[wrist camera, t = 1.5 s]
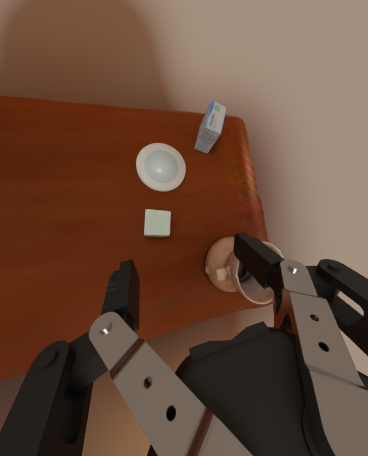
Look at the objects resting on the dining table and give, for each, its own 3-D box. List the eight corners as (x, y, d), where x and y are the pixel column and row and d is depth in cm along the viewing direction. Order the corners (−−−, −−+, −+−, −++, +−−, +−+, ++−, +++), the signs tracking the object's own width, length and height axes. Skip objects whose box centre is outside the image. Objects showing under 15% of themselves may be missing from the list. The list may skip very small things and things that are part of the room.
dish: (134, 188, 38) (134, 187, 36) (138, 141, 39) (137, 138, 38) (183, 194, 41) (185, 193, 40) (185, 150, 42) (186, 148, 41)
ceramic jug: (199, 293, 39) (230, 321, 26) (194, 239, 40) (222, 239, 27) (254, 282, 45) (304, 300, 31) (249, 234, 45) (295, 231, 32)
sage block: (144, 236, 37) (144, 234, 28) (145, 216, 38) (145, 209, 29) (164, 237, 38) (169, 235, 30) (164, 218, 39) (170, 211, 30)
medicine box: (207, 154, 44) (221, 134, 36) (193, 148, 43) (205, 126, 35) (212, 132, 45) (227, 107, 37) (199, 126, 44) (212, 99, 36)
